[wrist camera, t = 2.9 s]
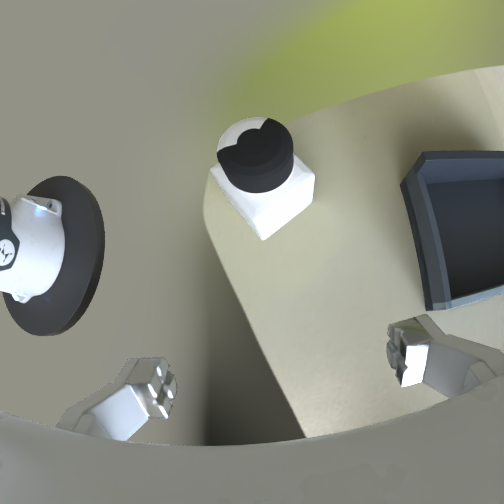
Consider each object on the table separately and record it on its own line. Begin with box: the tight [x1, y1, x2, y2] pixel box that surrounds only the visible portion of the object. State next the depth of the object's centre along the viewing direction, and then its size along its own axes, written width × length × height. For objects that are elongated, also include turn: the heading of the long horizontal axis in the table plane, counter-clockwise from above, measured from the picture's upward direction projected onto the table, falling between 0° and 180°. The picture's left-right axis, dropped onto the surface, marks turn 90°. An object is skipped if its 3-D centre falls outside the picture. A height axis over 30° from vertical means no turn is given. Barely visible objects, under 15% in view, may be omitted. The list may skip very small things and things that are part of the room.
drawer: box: [400, 151, 504, 311], centre depth 24 cm, size 15×18×8 cm
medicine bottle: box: [210, 117, 315, 240], centre depth 27 cm, size 7×7×12 cm
